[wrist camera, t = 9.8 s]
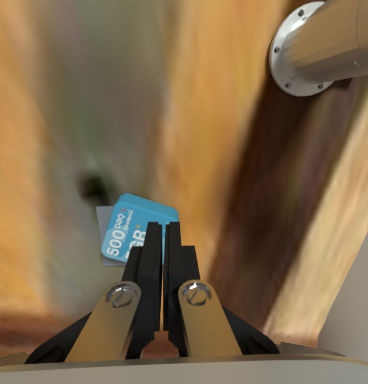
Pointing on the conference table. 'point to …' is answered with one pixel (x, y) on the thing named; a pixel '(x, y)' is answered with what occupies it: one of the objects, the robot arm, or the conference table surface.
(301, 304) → the conference table surface
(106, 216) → the felt pad
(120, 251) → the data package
